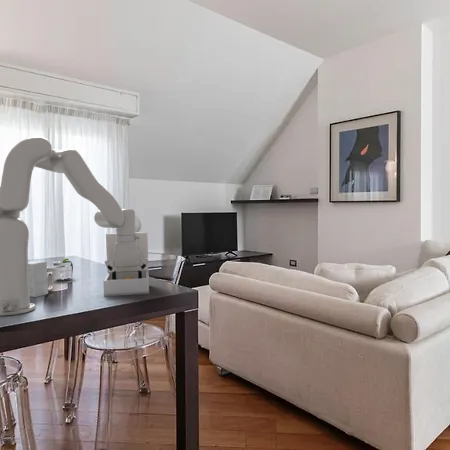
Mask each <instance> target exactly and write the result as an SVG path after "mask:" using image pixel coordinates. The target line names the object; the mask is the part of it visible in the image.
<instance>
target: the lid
mask: <svg viewBox="0 0 450 450" xmlns="http://www.w3.org/2000/svg"><path fill="white" fill-rule="evenodd" d="M135 235H136V236H139V239H137V240H136V242H138V247H139V256H141V257H144V258H146V259H148V260H149V247H148V245H149V244H148V243H149V242H148V232H147V231H143V232H142V231H141V232H140V231H135ZM105 241H106V242H105V243H106V246H105V247H106V261H107V260H108V259H110V258H112V257H114V246H115V243H117V238H116V232H110V233H109V232H108V233H107V232H106V233H105ZM143 264H144V261H142V260H140V262H139V265H140V266H142V265H143ZM109 265H110V266H111V267H112V268H113V267H114V260H113V261H111V262H110V263H109ZM115 271H116V273H126V272H138V271H139V269H138V268H137V267H117V269H116V270H115ZM146 271H148V272H149V262H148V263H147V265H146V267H145V268H144V269H143V270H142V272H146ZM108 273H112V272H111V271H110V270H109V269H108V268H107V274H108Z"/></svg>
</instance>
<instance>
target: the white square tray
mask: <svg viewBox="0 0 450 450" xmlns="http://www.w3.org/2000/svg"><path fill="white" fill-rule="evenodd" d="M127 276H130V277H132V279H124V278H125V277H127ZM149 279H150V278H149V270H148V271H146V272H142V278H140V279H138V272H126V273H116V280H112V273H108V272H107V274H106V276H105V278H104V279H103V296H104V297H113V296H115V297H117V296H131V295H132V296H133V295H134V294H135V295H149V294H150V280H149ZM135 295H134V296H135Z"/></svg>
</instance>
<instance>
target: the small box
mask: <svg viewBox="0 0 450 450" xmlns="http://www.w3.org/2000/svg"><path fill="white" fill-rule="evenodd" d="M47 263H48V262H47V261H36V260H32V261H31V260H30V261H28V270H29V292H30V298H38V297H41V296H45V295H48V294H49V284H48V264H47Z"/></svg>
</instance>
